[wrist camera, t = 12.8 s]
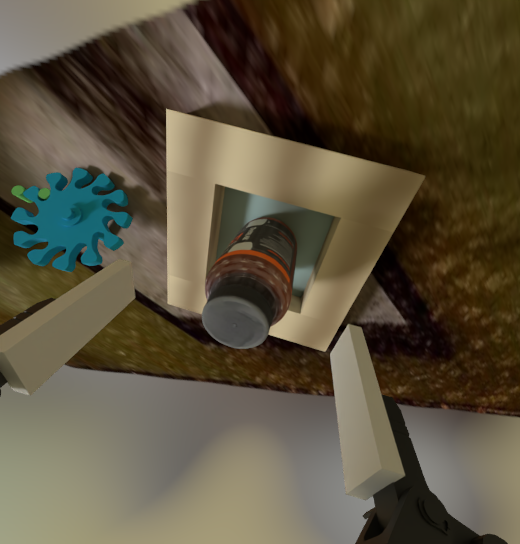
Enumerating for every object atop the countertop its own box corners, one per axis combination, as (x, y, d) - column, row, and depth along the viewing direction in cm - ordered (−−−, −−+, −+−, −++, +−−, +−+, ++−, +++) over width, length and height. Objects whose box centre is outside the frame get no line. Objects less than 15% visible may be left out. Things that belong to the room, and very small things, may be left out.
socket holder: (180, 288, 28) (167, 303, 25) (186, 113, 18) (166, 109, 16) (323, 331, 27) (325, 351, 24) (408, 170, 17) (425, 176, 15)
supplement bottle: (243, 207, 21) (185, 265, 11) (306, 224, 20) (302, 298, 11) (234, 262, 24) (183, 344, 14) (288, 277, 24) (273, 372, 14)
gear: (147, 198, 21) (71, 290, 18) (168, 225, 26) (112, 298, 24) (50, 140, 21) (-35, 222, 19) (91, 179, 27) (30, 246, 25)
